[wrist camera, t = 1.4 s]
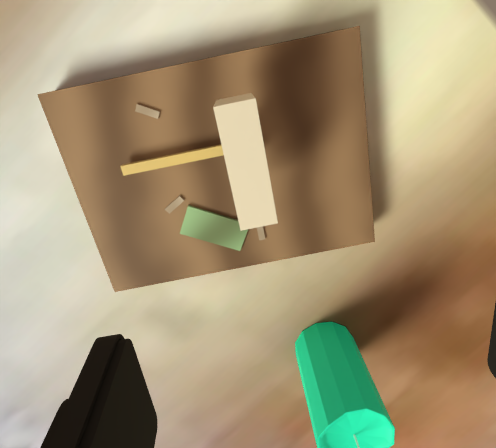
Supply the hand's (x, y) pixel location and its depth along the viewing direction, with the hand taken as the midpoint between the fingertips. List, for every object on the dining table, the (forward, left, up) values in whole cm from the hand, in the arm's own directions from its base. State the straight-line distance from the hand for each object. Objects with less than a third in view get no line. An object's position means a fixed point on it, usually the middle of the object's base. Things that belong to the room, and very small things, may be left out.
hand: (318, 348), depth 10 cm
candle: (-3, +20, -23) cm, 31 cm away
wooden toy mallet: (+5, -2, -20) cm, 20 cm away
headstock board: (+3, 0, -22) cm, 23 cm away
